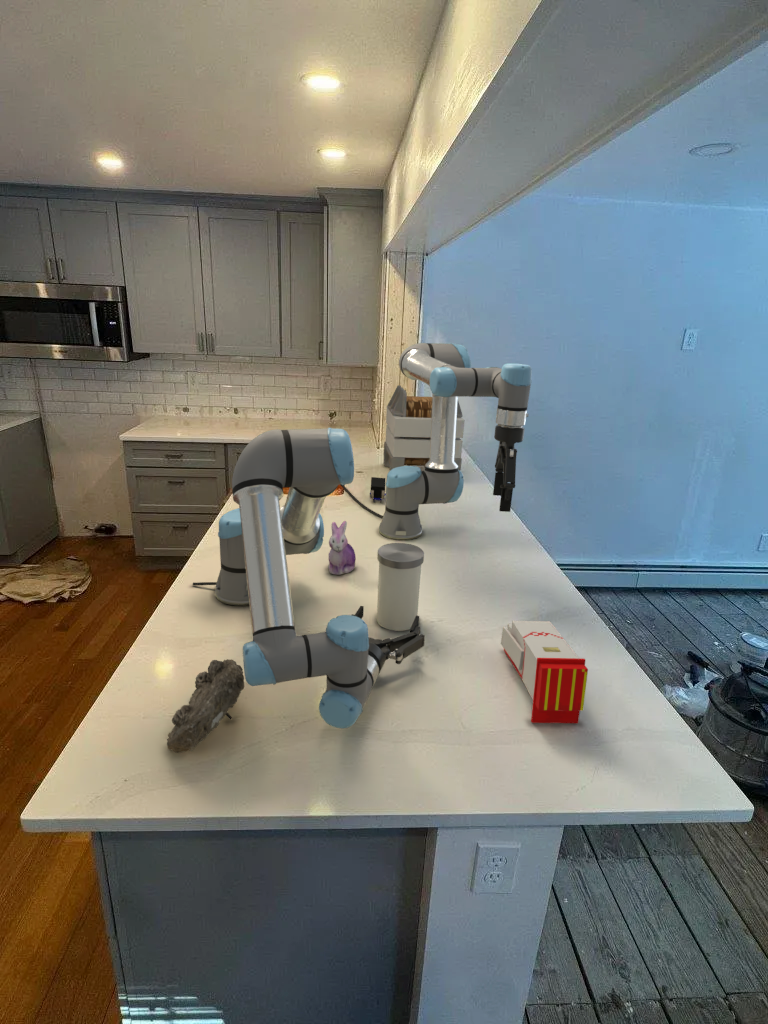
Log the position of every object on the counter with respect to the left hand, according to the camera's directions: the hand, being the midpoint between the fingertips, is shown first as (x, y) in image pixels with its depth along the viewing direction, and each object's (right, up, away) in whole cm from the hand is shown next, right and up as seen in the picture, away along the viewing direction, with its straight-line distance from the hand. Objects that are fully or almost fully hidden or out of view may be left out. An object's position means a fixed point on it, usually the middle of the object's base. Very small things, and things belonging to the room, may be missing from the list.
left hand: (389, 615), depth 134 cm
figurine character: (-4, +30, +101) cm, 105 cm away
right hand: (+31, +27, +20) cm, 46 cm away
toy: (+32, -12, -11) cm, 35 cm away
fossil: (-34, -15, -26) cm, 45 cm away
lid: (+3, +15, +4) cm, 15 cm away
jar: (+2, -3, +10) cm, 11 cm away
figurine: (-14, +7, +37) cm, 40 cm away
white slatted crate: (+16, +43, +141) cm, 148 cm away
